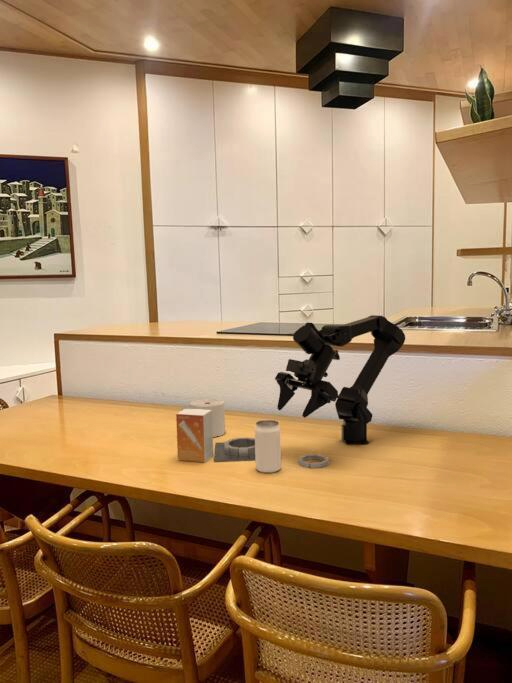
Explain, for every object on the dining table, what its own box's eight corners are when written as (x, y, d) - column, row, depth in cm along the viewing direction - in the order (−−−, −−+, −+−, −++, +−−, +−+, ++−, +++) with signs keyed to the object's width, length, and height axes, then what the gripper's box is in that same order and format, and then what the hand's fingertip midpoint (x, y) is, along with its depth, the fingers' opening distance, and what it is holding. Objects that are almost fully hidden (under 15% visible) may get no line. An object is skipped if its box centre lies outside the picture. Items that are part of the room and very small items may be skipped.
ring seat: (276, 441, 157) (275, 433, 157) (281, 459, 141) (281, 450, 141) (215, 443, 156) (215, 436, 156) (213, 462, 140) (213, 453, 140)
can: (271, 475, 129) (270, 427, 128) (250, 470, 133) (249, 424, 132) (286, 467, 135) (285, 421, 133) (265, 463, 138) (264, 418, 137)
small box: (177, 460, 142) (175, 413, 141) (187, 453, 148) (185, 407, 147) (205, 463, 140) (203, 415, 138) (214, 455, 146) (212, 409, 144)
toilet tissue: (232, 432, 168) (231, 401, 167) (204, 441, 159) (202, 409, 158) (209, 427, 175) (208, 397, 174) (181, 435, 166) (179, 404, 165)
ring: (325, 457, 141) (325, 453, 141) (330, 467, 134) (330, 463, 134) (297, 458, 141) (297, 455, 141) (301, 468, 134) (300, 464, 133)
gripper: (278, 343, 146) (249, 390, 140) (329, 351, 132) (300, 404, 127) (299, 365, 152) (272, 411, 147) (350, 375, 138) (323, 426, 133)
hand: (290, 413), depth 138 cm, fingers open, 9 cm apart
